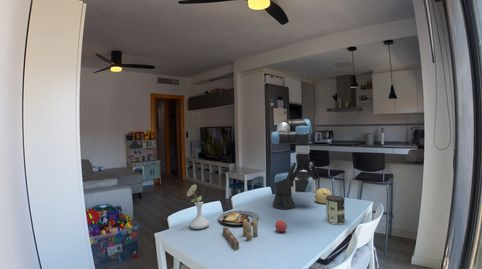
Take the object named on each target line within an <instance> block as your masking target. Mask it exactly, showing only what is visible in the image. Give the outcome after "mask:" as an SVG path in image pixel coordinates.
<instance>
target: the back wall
mask: <svg viewBox="0 0 482 269" xmlns="http://www.w3.org/2000/svg"><path fill="white" fill-rule="evenodd" d="M222 234H223V236H224V237H225V239H226V240H227V241H228V242H229V244H230V245H231V247H232V248H233V250H234V251H236V250H237V251H238V250H239V249H240V241H239V240H238V239H237V237H235V236H236V235H234V234H233V232H232V231H231V230H230V228H228V227H227V226H222Z"/></svg>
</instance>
